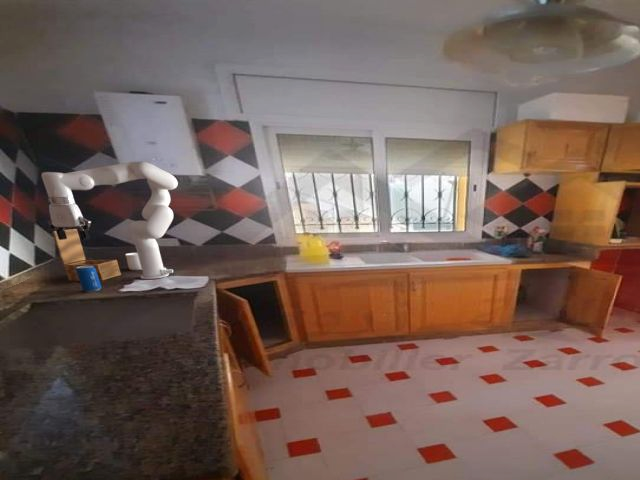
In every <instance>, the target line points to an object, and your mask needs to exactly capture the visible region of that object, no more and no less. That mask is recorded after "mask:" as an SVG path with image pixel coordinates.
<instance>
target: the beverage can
mask: <svg viewBox="0 0 640 480" xmlns="http://www.w3.org/2000/svg"><path fill="white" fill-rule="evenodd" d="M76 272H77V275H78V278H79V280H80V281H79V283H80V286H81V289H82V292H83V291H84V292H87V293H90V292H91V293H92V292H97V291H100V290H101V289H102V285H101V281H100V280H99V279H98V276H97V272H96V269H95V268H94V267H93V266H92V265H89V266H80V267H77V269H76Z"/></svg>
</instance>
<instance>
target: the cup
mask: <svg viewBox="0 0 640 480" xmlns="http://www.w3.org/2000/svg"><path fill="white" fill-rule="evenodd" d="M124 255H125V258H126V263H127V266H128V270H130V271H142V267H141V264H140V260H139V257H138V253H137V252H129V253H125V254H124Z"/></svg>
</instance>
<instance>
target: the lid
mask: <svg viewBox="0 0 640 480" xmlns="http://www.w3.org/2000/svg"><path fill="white" fill-rule="evenodd" d="M63 230H64V231H65V233H66V236H67V239H63V240H59V238H58V235H57V232H56V231H55V230H53V231H52V233H51V236H53V238H54V241H55V245H56V247H57V251H58V254H59V258H60V261H61V264H62V265H67V264H71V263H76V262H80V261H85V260H87V259H86V255H85V252H84V249H83V245H82V242H81V239H80V235H79V232H78V228H71V229H70V228H69V229H63Z"/></svg>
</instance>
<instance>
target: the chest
mask: <svg viewBox="0 0 640 480" xmlns="http://www.w3.org/2000/svg"><path fill="white" fill-rule="evenodd" d="M89 265H92V266H93V267H94V268H95V269H96V272H97V276H98V279H99V281H105V280H109V279H111V278H115V277H119V276H121V275H122V273H121V270H120V267H119V266H120V265H119V264H118V260H117V259H88V260H87V259H86V260H81V261H77V262H72V263H68V264H63V268H64V270H65V273H66V275H67V276H66V277H67V279H68V281H69V282H76V281H77V282H80V280H79V278H78V275H77V272H76V269H77V267H80V266H89Z"/></svg>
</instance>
